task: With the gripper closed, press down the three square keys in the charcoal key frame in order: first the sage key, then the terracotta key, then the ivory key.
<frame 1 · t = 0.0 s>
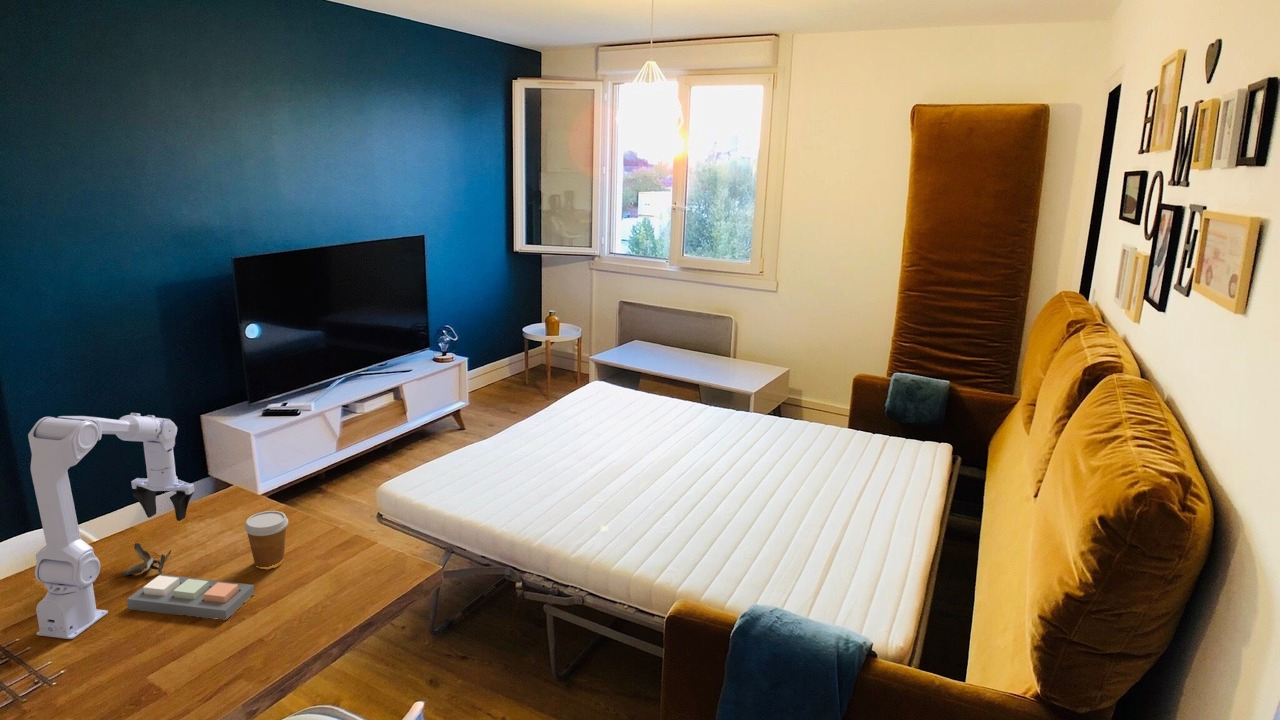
hand: (166, 517, 179), 10 cm above the table, tool pointing down, fingers open, 7 cm apart
eagle figurine: (146, 572, 174), on the table
key frame: (192, 601, 164), on the table
sage key: (191, 591, 163), point 3 cm above the table, slide at 0.0 cm
ivory key: (161, 587, 164), point 3 cm above the table, slide at 0.0 cm
disposable coffee cup: (269, 563, 181), on the table
terracotta key: (221, 594, 163), point 3 cm above the table, slide at 0.0 cm
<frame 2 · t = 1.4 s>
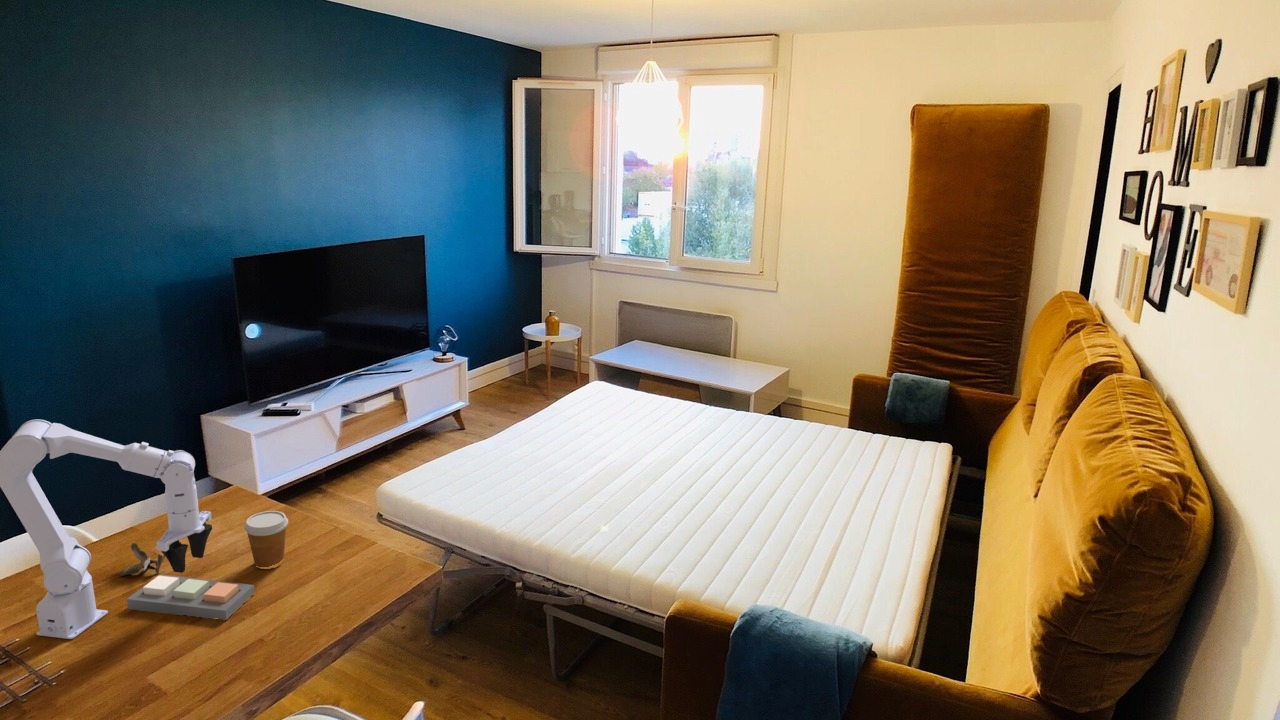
hand: (188, 564, 161), 9 cm above the table, tool pointing down, fingers open, 5 cm apart
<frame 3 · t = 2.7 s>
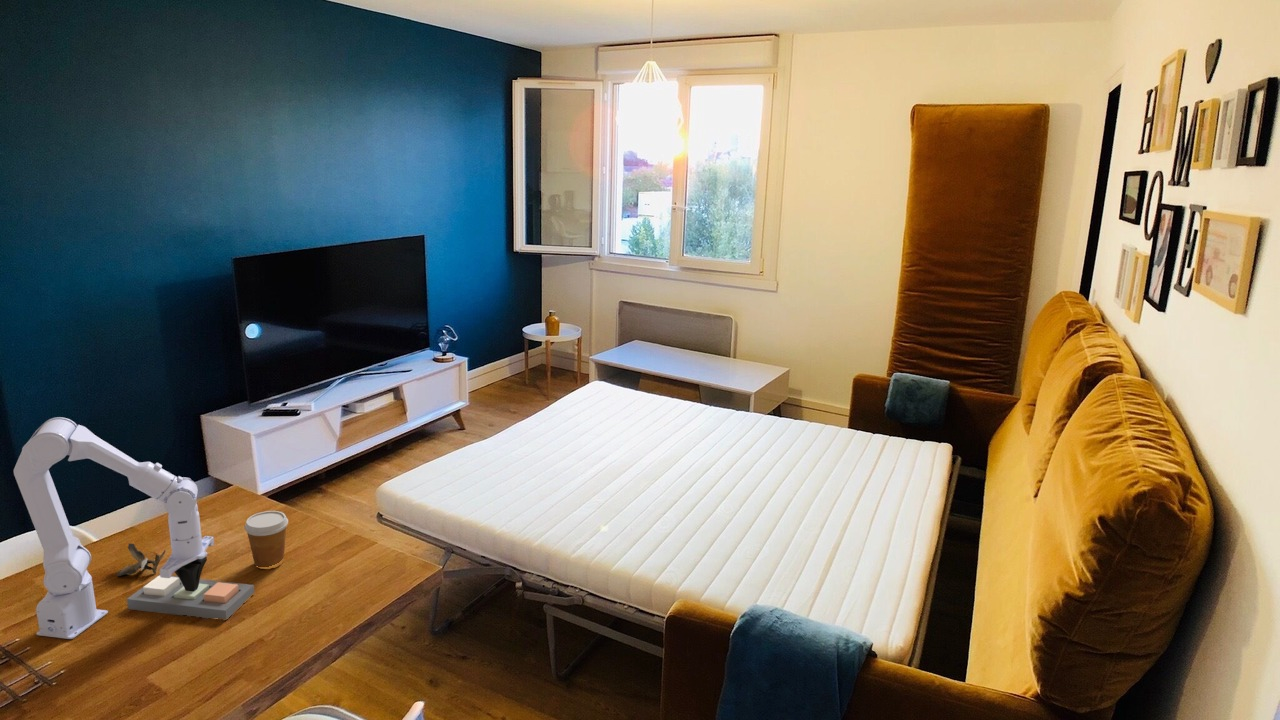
hand: (191, 589, 163), 3 cm above the table, tool pointing down, fingers closed, pressing on sage key
sage key: (192, 594, 163), point 2 cm above the table, slide at 0.9 cm, touching gripper
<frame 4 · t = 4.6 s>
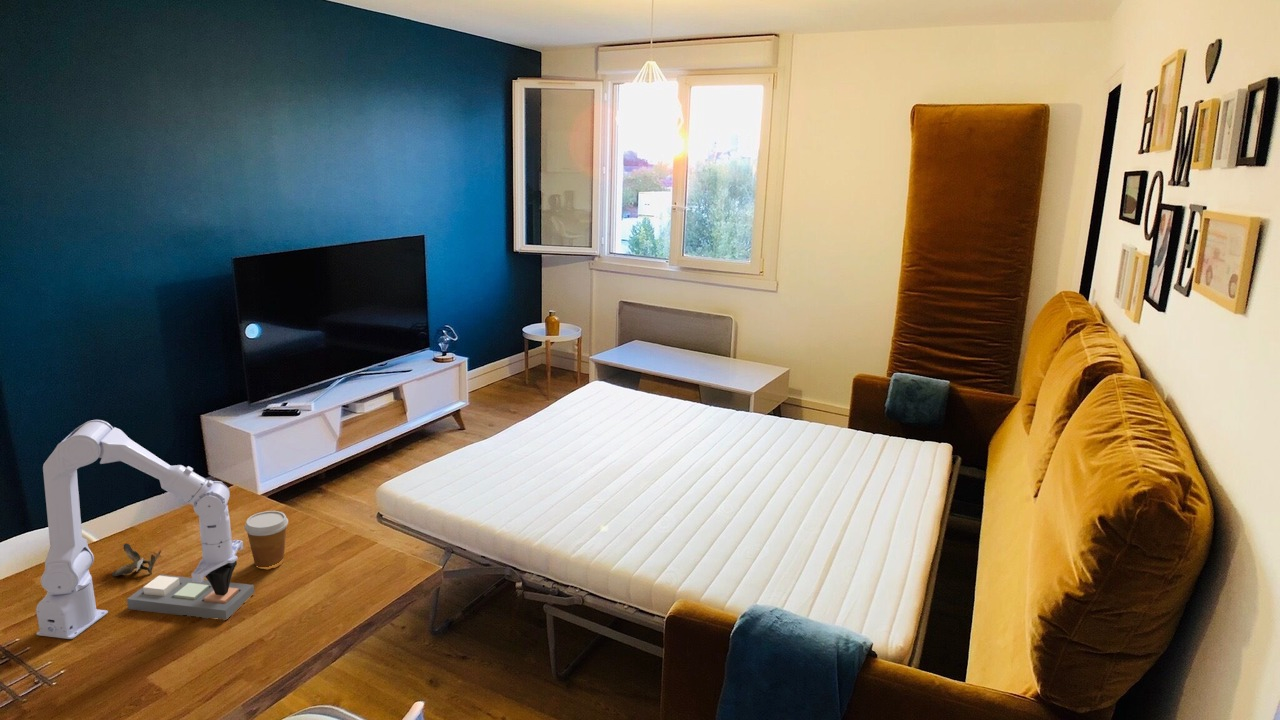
hand: (221, 593, 163), 3 cm above the table, tool pointing down, fingers closed, pressing on terracotta key
sage key: (192, 595, 163), point 2 cm above the table, slide at 1.0 cm
terracotta key: (221, 598, 163), point 2 cm above the table, slide at 1.0 cm, touching gripper
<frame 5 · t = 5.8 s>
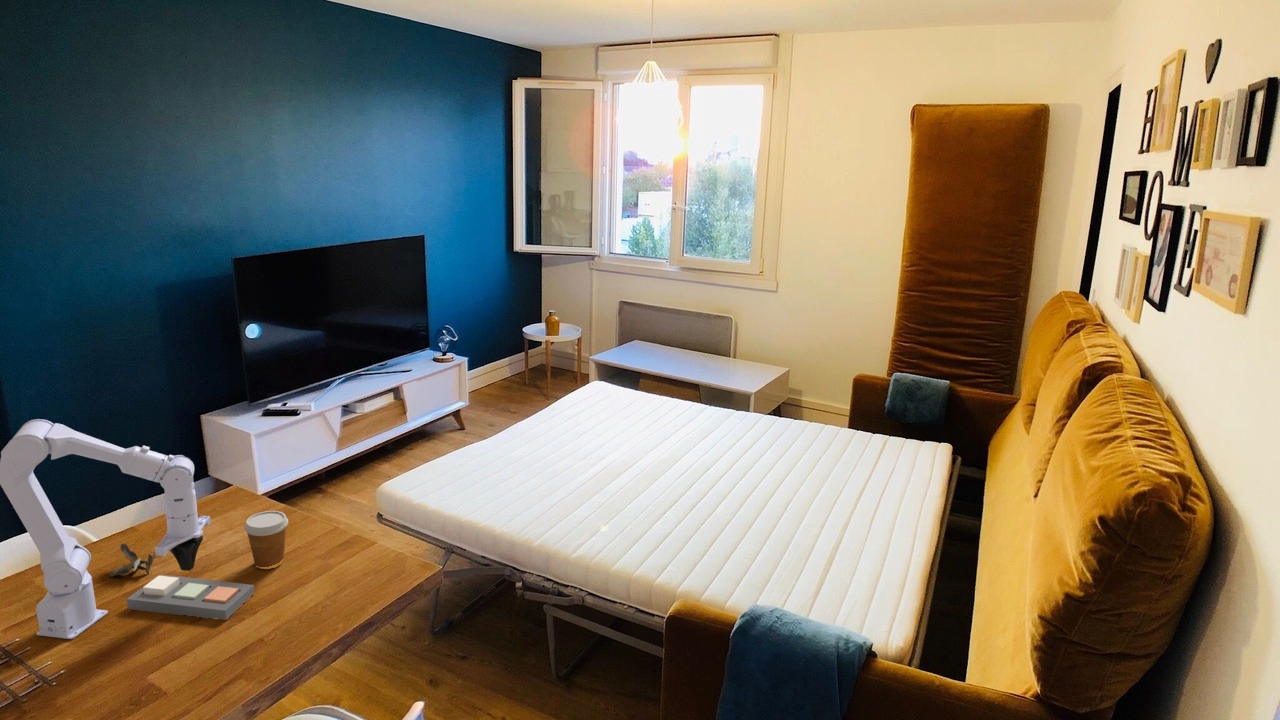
hand: (187, 568, 162), 8 cm above the table, tool pointing down, fingers closed
terracotta key: (221, 598, 163), point 2 cm above the table, slide at 1.0 cm
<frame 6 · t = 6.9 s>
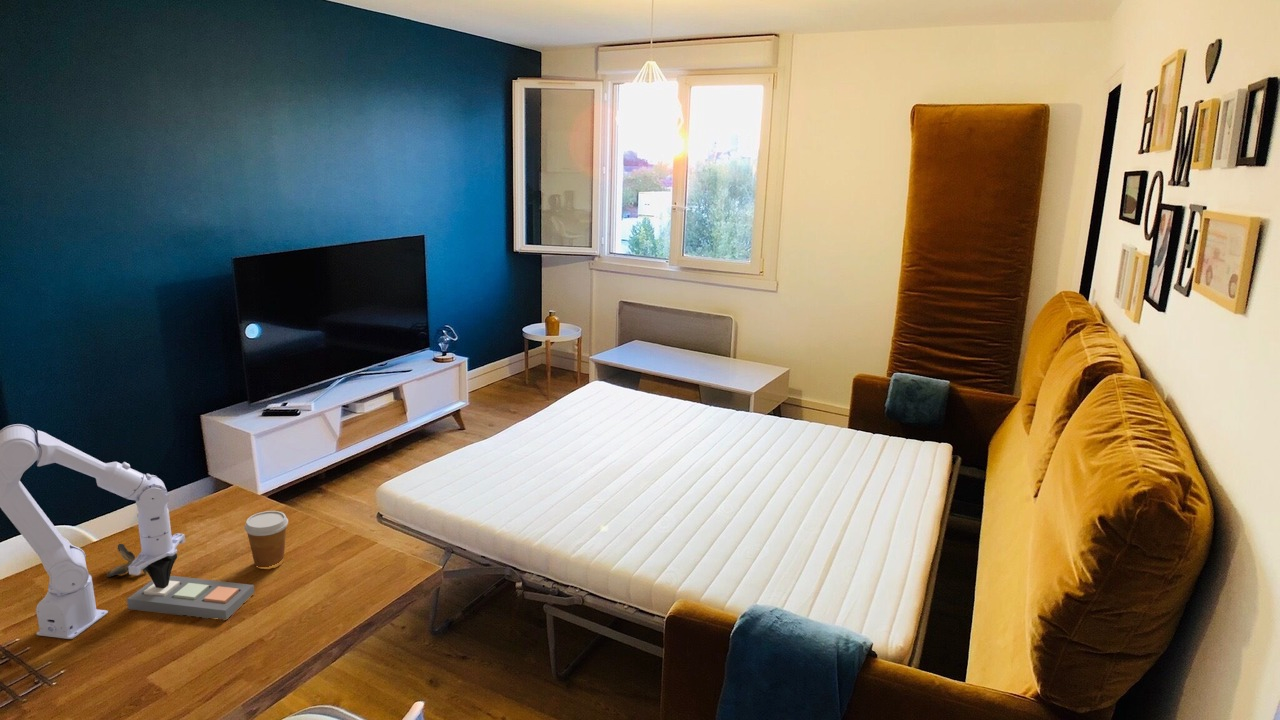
hand: (162, 586, 164), 3 cm above the table, tool pointing down, fingers closed, pressing on ivory key
ivory key: (162, 591, 164), point 2 cm above the table, slide at 1.0 cm, touching gripper
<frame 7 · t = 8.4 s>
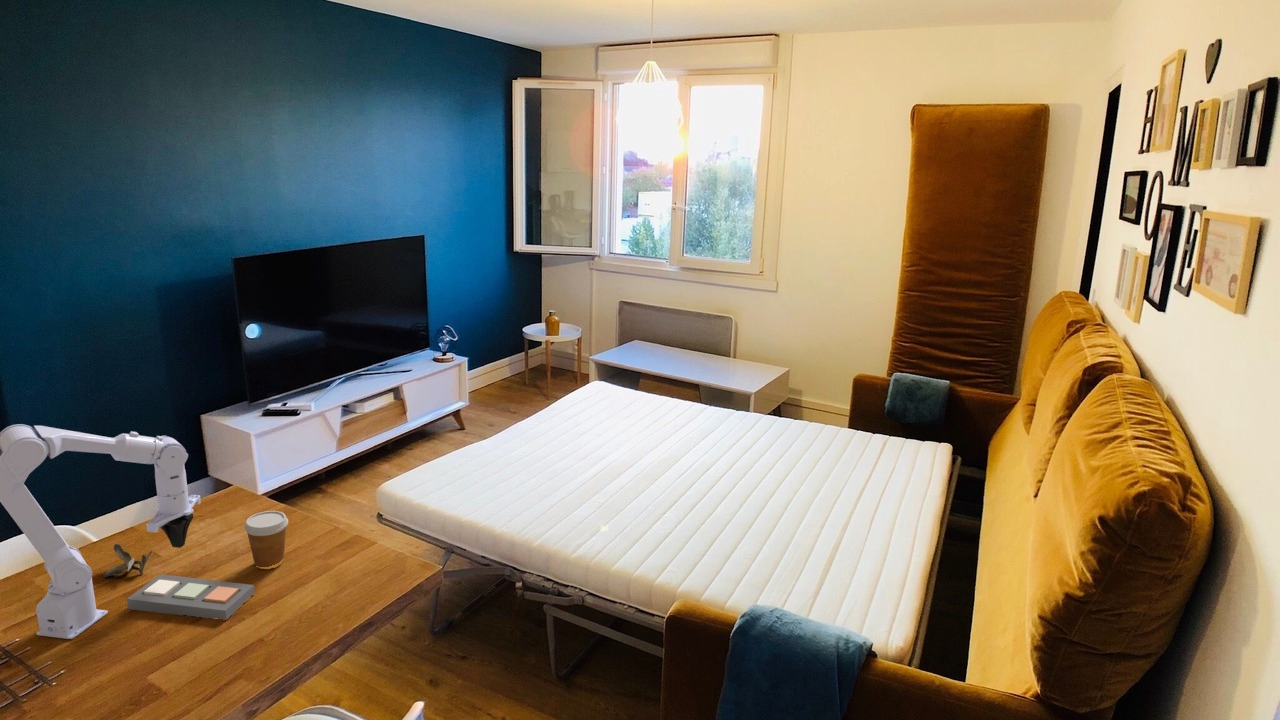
hand: (178, 545, 166), 10 cm above the table, tool pointing down, fingers closed
ivory key: (162, 591, 164), point 2 cm above the table, slide at 1.0 cm
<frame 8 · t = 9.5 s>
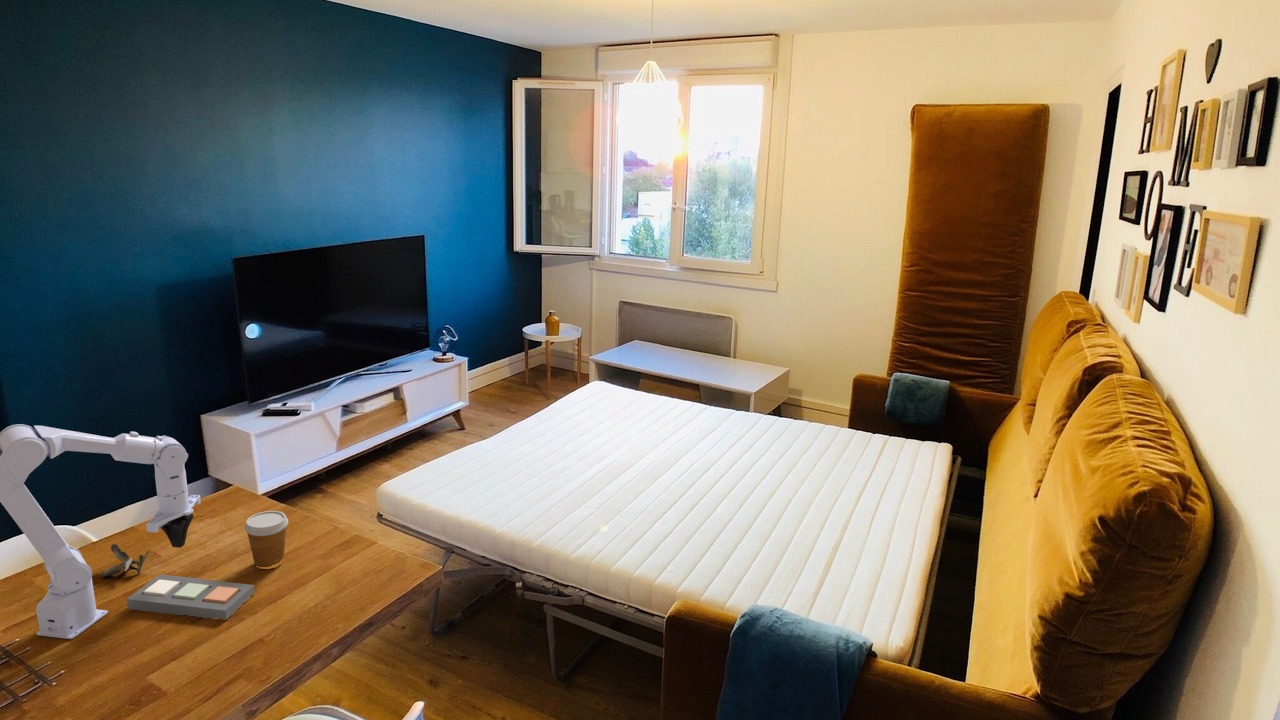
hand: (178, 545, 166), 10 cm above the table, tool pointing down, fingers closed
at the end: sage key slide at 1.0 cm; terracotta key slide at 1.0 cm; ivory key slide at 1.0 cm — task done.
